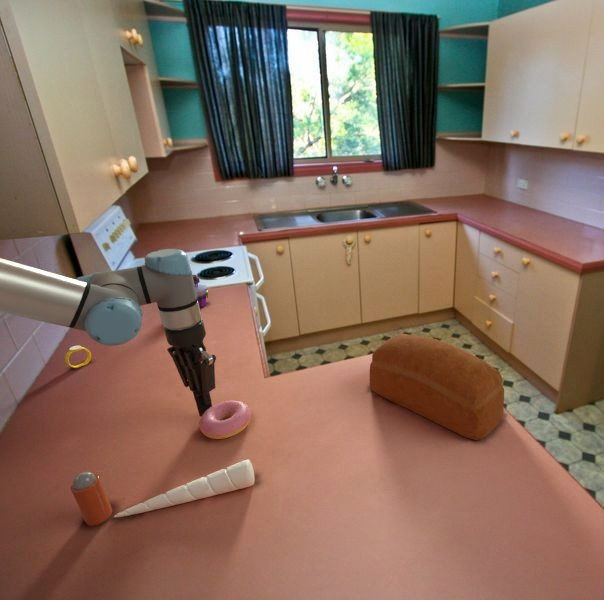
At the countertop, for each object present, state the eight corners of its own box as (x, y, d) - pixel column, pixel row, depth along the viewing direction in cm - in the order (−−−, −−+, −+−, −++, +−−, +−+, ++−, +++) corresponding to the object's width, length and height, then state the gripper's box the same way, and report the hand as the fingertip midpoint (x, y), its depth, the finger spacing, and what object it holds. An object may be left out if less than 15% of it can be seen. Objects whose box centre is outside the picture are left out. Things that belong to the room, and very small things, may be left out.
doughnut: (254, 434, 94) (251, 419, 92) (200, 448, 90) (196, 433, 88) (250, 406, 103) (247, 391, 101) (201, 418, 99) (197, 403, 98)
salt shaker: (81, 520, 75) (61, 478, 71) (104, 503, 78) (87, 462, 74) (93, 529, 73) (74, 487, 69) (117, 511, 76) (100, 470, 72)
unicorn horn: (120, 502, 78) (112, 482, 76) (255, 472, 84) (251, 453, 82) (112, 523, 74) (103, 503, 72) (255, 490, 80) (250, 471, 78)
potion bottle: (215, 304, 160) (209, 275, 156) (192, 312, 155) (185, 281, 150) (204, 299, 166) (198, 270, 161) (182, 306, 160) (175, 276, 155)
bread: (478, 447, 88) (482, 384, 82) (364, 390, 108) (360, 336, 102) (508, 413, 98) (514, 355, 92) (399, 366, 117) (397, 316, 111)
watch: (72, 372, 120) (65, 353, 117) (67, 369, 121) (60, 351, 118) (95, 362, 124) (88, 344, 122) (89, 359, 126) (83, 342, 123)
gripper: (219, 321, 89) (239, 412, 99) (178, 310, 95) (201, 397, 105) (188, 336, 83) (212, 431, 93) (147, 324, 89) (173, 415, 98)
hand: (206, 413), depth 99 cm, fingers closed
